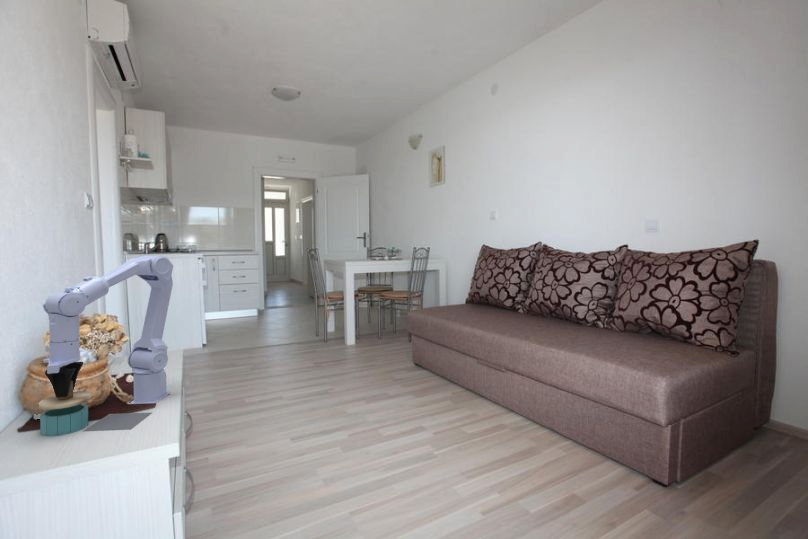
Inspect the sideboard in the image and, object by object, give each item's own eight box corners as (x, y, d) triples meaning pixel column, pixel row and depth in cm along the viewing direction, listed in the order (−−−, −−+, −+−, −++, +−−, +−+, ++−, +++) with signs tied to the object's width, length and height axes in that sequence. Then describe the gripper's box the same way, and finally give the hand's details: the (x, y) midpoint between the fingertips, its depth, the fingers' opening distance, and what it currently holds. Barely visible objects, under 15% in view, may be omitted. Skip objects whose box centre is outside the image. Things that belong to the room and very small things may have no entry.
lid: (58, 396, 104) (57, 377, 104) (99, 394, 105) (99, 375, 105) (27, 410, 94) (26, 389, 94) (74, 408, 95) (73, 387, 95)
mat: (109, 415, 109) (109, 413, 109) (152, 414, 110) (152, 412, 110) (82, 433, 98) (82, 431, 98) (131, 431, 99) (131, 429, 99)
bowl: (58, 423, 103) (58, 404, 103) (96, 421, 105) (96, 403, 105) (30, 438, 95) (30, 417, 94) (72, 436, 96) (72, 416, 96)
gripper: (56, 336, 104) (56, 387, 104) (30, 347, 91) (30, 406, 91) (89, 334, 107) (89, 384, 107) (68, 345, 94) (68, 402, 94)
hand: (64, 394), depth 99 cm, fingers closed on lid, 3 cm apart
